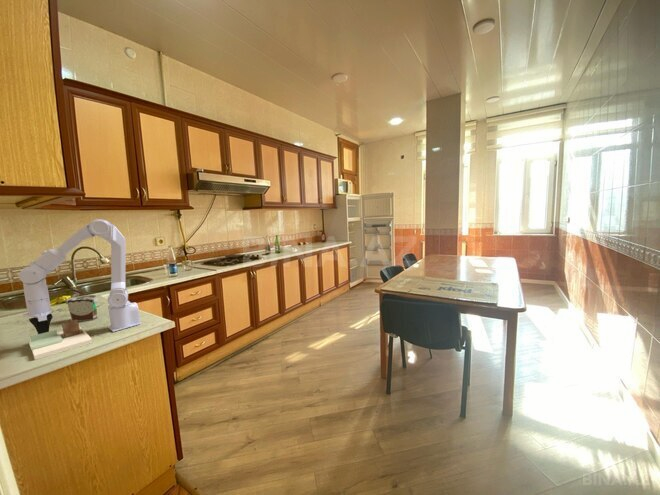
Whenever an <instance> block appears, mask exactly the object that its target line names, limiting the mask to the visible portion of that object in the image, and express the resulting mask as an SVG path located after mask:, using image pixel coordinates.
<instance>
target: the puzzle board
mask: <svg viewBox="0 0 660 495" xmlns="http://www.w3.org/2000/svg"><path fill="white" fill-rule="evenodd" d="M79 329H80V334H78V335H75V336H71V337H67V338H64V333H63V330H62V331H57V334H59V335H60V336H61V338H62V340H63V341H62V342H58V343H54V344H51V345H47V346H43V347H40V348H36V349H33V350H31V352H32V356H33V359H34V361H37V360H39V359H43V358H46V357H49V356H53V355H56V354H59V353H64V352H65V351H70V350H74V349H77V348H79V347H83V346H86V345H90V344H92V343H93V339H92V337H91V336H90V335H89V333H87V331H86V330H84V328H82V327H81V326H79ZM30 341H31V338H30V339H28V343H29V342H30Z"/></svg>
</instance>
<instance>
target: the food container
mask: <svg viewBox="0 0 660 495" xmlns="http://www.w3.org/2000/svg"><path fill="white" fill-rule="evenodd" d="M97 302H99V298H98V296H97V295H95V294H88V295H79V296H73V297H69V298H67V299H65V305H67V307H68V311H69V315H70V319H71V321H72V320H77V321H78V322H79V321H94V320H96V319H97V318H98V308H97V307H98V306H97V305H98V304H97Z"/></svg>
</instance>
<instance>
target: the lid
mask: <svg viewBox="0 0 660 495" xmlns="http://www.w3.org/2000/svg"><path fill="white" fill-rule="evenodd" d="M57 332H58V331H57V329H54V330H53V329H52V330H49V332H45V333H41V334H38V333H37V334H33V335H30V339H31V341H30V342H29V341H28V345H29V348H30V350H31V351H32V350H33V349H36V348H40V347H43V346H47V345H51V344H54V343H58V342H62V341H63V340H62V339H63V338H61V336H60V335H59V334H57Z"/></svg>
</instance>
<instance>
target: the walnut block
mask: <svg viewBox="0 0 660 495" xmlns="http://www.w3.org/2000/svg"><path fill="white" fill-rule="evenodd" d="M61 326H62V331H63V333H64V338H67V337H71V336H75V335H78V334H81V333H80V329H79V327H80V323H79V321H77V320H72V319H71V320H68V321H65V322H62V323H61ZM64 338H63V339H64Z"/></svg>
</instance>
